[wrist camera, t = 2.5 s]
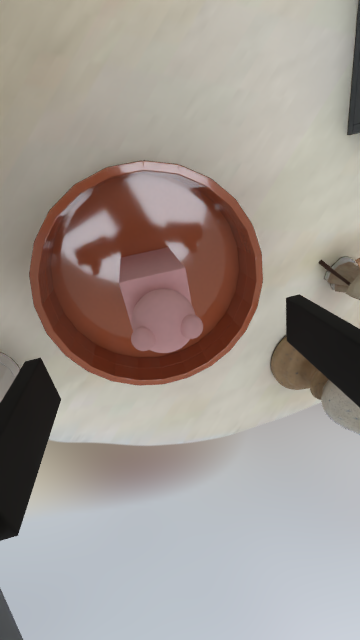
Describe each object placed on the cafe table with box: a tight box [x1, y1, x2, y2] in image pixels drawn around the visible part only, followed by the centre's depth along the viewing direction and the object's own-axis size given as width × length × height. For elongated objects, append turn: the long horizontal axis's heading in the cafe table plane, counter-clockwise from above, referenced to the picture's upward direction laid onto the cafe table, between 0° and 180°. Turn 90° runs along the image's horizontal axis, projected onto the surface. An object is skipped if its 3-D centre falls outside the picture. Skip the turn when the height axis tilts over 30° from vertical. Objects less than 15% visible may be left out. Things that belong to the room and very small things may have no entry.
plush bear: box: [119, 247, 203, 353], centre depth 20 cm, size 5×4×12 cm
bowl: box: [29, 160, 263, 385], centre depth 24 cm, size 18×18×4 cm
